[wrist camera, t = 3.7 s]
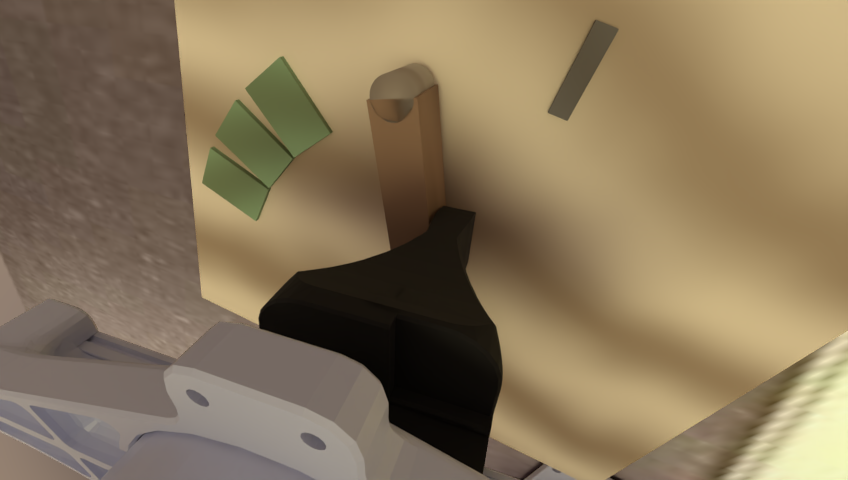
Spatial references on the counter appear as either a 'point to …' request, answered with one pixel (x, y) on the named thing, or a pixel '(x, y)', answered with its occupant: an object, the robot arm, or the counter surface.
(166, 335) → the counter surface
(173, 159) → the counter surface
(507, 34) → the dial board
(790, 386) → the counter surface
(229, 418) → the robot arm
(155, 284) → the counter surface
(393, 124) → the tuning peg
